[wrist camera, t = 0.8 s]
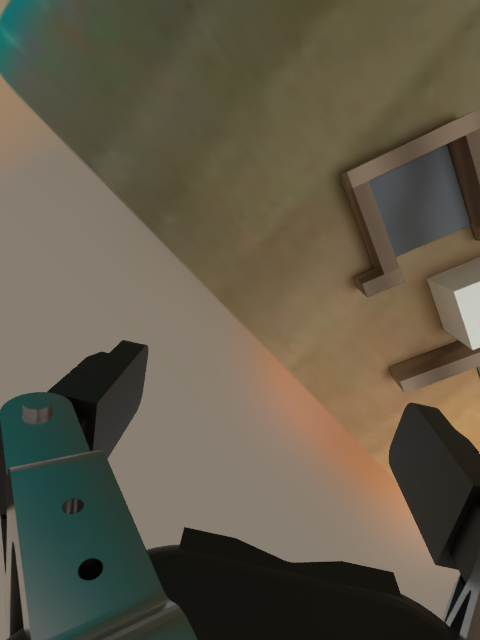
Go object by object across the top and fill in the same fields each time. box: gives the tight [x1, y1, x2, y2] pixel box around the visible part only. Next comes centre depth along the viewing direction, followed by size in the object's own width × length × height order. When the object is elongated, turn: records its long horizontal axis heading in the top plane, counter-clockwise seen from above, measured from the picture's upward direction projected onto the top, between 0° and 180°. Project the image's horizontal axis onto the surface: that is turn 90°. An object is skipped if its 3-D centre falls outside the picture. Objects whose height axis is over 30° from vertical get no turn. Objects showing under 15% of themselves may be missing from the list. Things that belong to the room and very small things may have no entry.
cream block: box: [427, 257, 480, 350], centre depth 31 cm, size 5×5×5 cm
